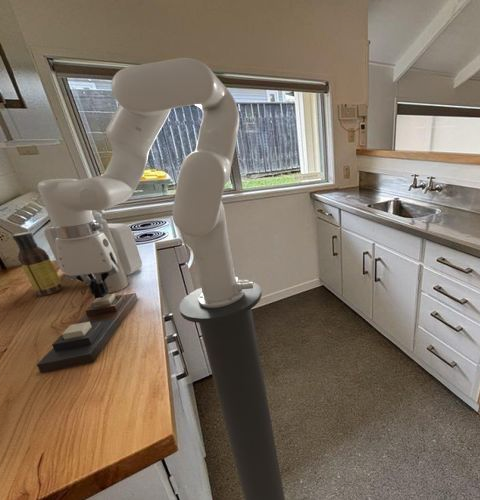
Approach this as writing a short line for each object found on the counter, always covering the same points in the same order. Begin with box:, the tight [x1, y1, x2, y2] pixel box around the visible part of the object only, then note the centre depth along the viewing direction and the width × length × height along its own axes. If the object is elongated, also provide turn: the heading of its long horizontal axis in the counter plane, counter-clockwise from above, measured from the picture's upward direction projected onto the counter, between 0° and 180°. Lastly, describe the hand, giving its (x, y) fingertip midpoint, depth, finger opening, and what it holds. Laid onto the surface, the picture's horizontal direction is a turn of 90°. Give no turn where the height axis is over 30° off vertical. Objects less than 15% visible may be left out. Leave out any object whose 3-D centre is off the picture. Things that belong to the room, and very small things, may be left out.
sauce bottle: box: [11, 231, 63, 296], centre depth 88 cm, size 6×6×20 cm
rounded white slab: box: [43, 223, 143, 276], centre depth 101 cm, size 29×8×18 cm, turn 85°
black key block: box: [36, 318, 120, 374], centre depth 65 cm, size 9×14×4 cm, turn 19°
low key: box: [92, 293, 116, 307], centre depth 77 cm, size 4×4×2 cm
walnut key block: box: [75, 292, 138, 326], centre depth 77 cm, size 9×14×4 cm, turn 19°
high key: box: [61, 322, 92, 340], centre depth 64 cm, size 4×4×2 cm
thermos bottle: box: [91, 210, 129, 294], centre depth 88 cm, size 8×8×28 cm
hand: (101, 295), depth 76 cm, fingers closed
